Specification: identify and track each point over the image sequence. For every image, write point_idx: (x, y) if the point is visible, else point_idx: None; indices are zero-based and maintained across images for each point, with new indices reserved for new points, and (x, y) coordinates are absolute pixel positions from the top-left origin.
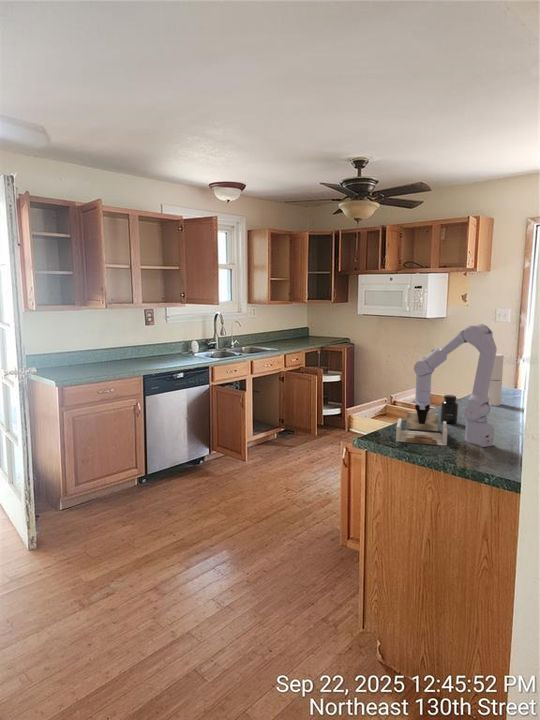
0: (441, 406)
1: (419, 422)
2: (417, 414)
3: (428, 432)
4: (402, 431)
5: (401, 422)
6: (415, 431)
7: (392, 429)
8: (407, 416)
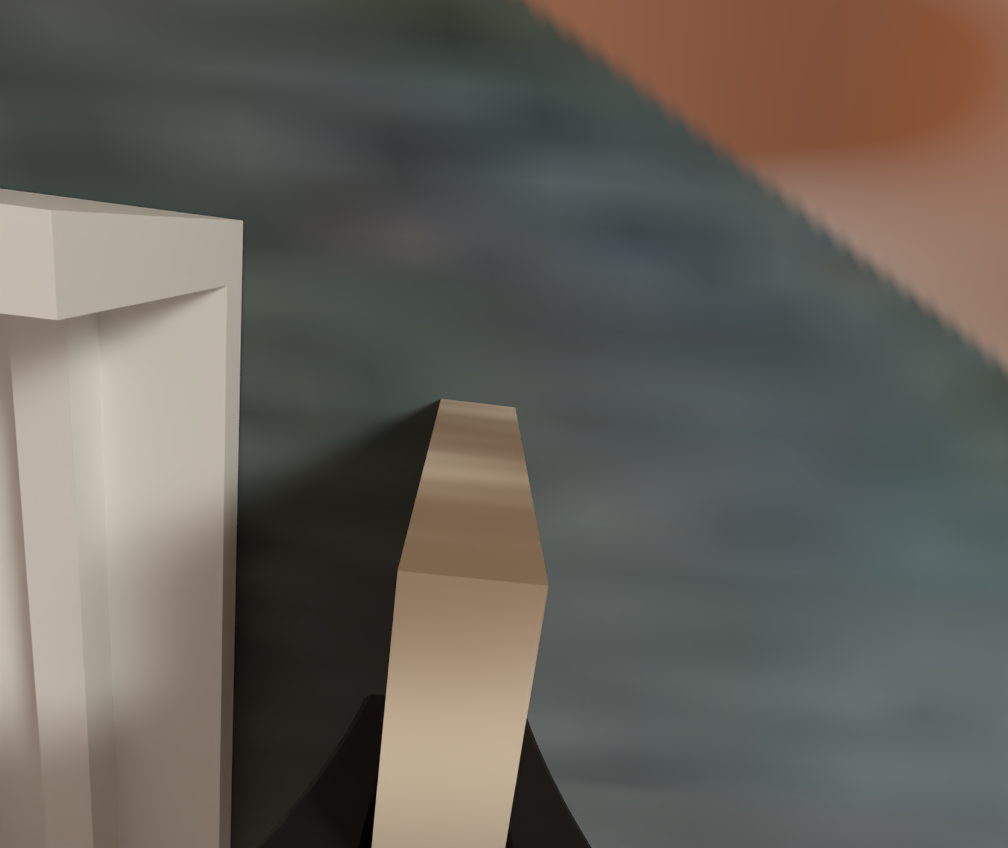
0: None
1: (355, 718)
2: (379, 833)
3: (78, 762)
4: (188, 308)
5: (121, 303)
6: (60, 558)
7: (457, 113)
8: (410, 521)
